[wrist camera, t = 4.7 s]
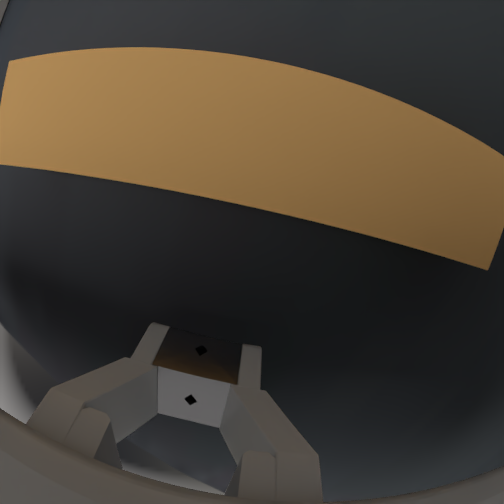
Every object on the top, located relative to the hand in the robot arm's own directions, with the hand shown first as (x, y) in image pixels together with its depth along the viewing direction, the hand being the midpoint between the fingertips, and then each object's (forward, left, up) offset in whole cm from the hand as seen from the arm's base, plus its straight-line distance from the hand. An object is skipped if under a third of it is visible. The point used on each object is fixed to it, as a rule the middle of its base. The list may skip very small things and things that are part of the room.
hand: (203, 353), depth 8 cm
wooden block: (0, -6, -2) cm, 6 cm away
